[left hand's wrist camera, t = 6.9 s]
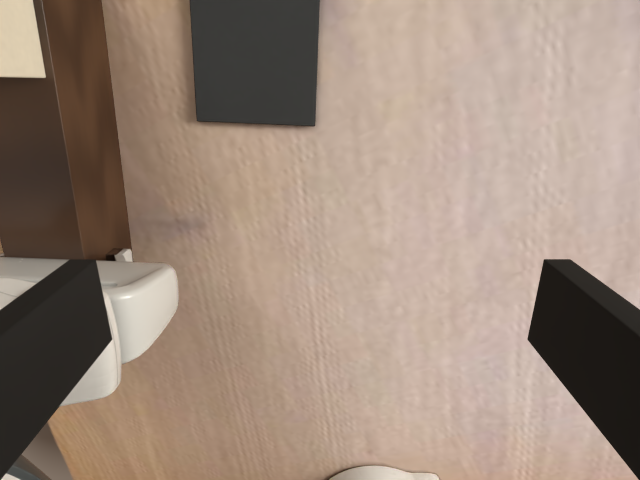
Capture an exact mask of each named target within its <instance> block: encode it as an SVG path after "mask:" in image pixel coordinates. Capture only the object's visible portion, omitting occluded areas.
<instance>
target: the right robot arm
mask: <svg viewBox="0 0 640 480" xmlns="http://www.w3.org/2000/svg"><path fill="white" fill-rule="evenodd" d="M68 260H70V259H44V258H17V257H5V256H4V253H2V254H0V310H1V309H2V308H3V307H5V306H6V305H8V304H9V303H10V302H12V301H13V300H14V299H16V298H17V297H19V296H20V295H21V294H23V293H24V292H25V291H27V290H28V289H30V288H31V287H32V286H34V285H35V284H37V283H38V282H39V281H41V280H42V279H43V278H45V277H46V276H48V275H49V274H50V273H52V272H53V271H55V270H56V269H57V268H59V267H60V266H61V265H63V264H64V263H66V262H67V261H68ZM96 262H97V267H98V272H99V277H100V282H101V286H102V291H103V296H104V301H105V306H106V311H107V315H108V320H109V325H110V330H111V335H112V341H111V342H110V343H109V344H108V346H107V347H106V348H105V349H104V351H103V352H102V353H101V355H100V356H99V357H98V358H97V360H96V361H95V362H94V363H93V365H92V366H91V367H90V368H89V370H88V371H87V372H86V373H85V375H84V376H83V377H82V378H81V380H80V381H79V382H78V383H77V385H76V386H75V387H74V388H73V390H72V391H71V392H70V394H69V395H68V396H67V397H66V399H65V400H64V401H63V402H62V404H61V405H60V406H64V405H70V404H75V403H81V402H87V401H92V400H97V399H101V398H104V397H107V396H108V395H110V394H111V393H113V392H114V391H115V389H116V388H117V387H118V385H119V383H120V381H121V365H122V364H125V363H127V362H130V361H132V360H134V359H136V358H137V357H139V356H140V355H142V354H143V353H144V352H145V351H146V350H147V349H148V348H149V347H150V346H151V345H152V344H153V343H154V342H155V340H156V339H157V338H158V337H159V335H160V334H161V333H162V332H163V330H164V329H165V327H166V326H167V325H168V323H169V322H170V320H171V319H172V317H173V316H174V314H175V312H176V310H177V307H178V301H179V296H178V282H177V275H176V272H175V270H174V269H173V268H172V267H171V266H170V265H169V264H167V263H152V262H133V260H132V252H131V250H130V249H121V248H113V249H112V250H111V251H109V252H108V253H107V254H106V261H98V260H96ZM60 406H59V407H60ZM1 480H51V479H50V478H49V477H48V476H47V475H45V474H44V473H43V472H42V471H41V470H40V469H38V468H37V467H36V466H35V465H34V464H32V463H31V462H30V461H29V460H28V459H26V458H25V457H24V456H23V455H20V456H19V458H18V459H17V460H16V461H15V463H14V464H13V465H12V466H11V468H10V469H9V470H8V472H7V473H6V474H5V475H4V477H3V478H2V479H1ZM329 480H440V479H439V478H438V476H437V475H435V474H432V473H409V472H405V471H402V470H399V469H395V468H391V467H386V466H362V467H356V468H352V469H349V470H346V471H343V472H341V473H339V474H337V475H335V476H334V477H332V478H330V479H329Z"/></svg>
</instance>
